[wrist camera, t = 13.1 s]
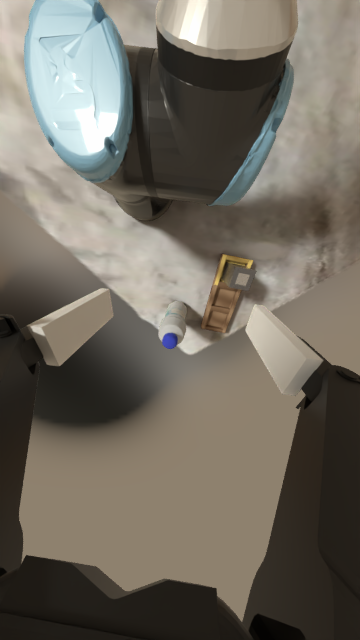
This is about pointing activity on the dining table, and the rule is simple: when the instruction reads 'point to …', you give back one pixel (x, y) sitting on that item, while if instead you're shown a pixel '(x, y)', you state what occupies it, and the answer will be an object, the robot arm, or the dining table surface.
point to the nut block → (238, 276)
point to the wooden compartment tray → (222, 297)
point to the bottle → (173, 325)
